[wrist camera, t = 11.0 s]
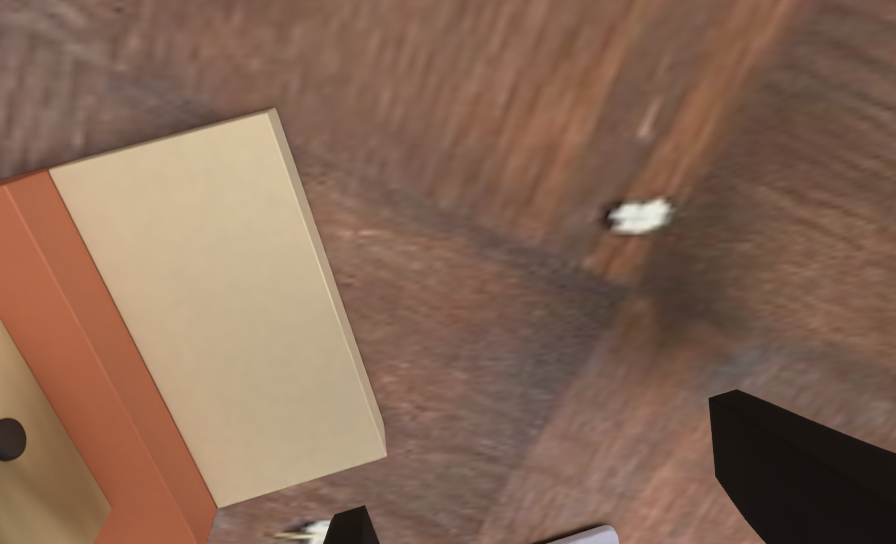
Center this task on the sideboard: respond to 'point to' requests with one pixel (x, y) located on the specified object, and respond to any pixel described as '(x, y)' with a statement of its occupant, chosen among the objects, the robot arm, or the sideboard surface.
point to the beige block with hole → (40, 465)
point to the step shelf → (185, 325)
